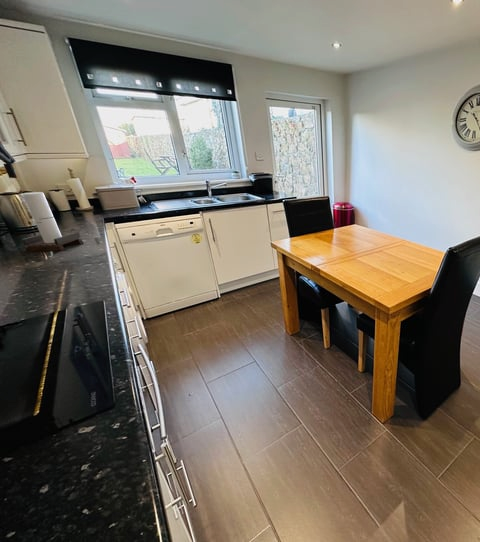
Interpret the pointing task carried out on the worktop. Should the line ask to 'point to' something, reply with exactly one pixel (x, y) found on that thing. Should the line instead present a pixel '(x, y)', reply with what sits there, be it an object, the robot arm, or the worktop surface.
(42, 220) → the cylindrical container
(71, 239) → the rack
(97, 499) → the worktop surface
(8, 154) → the robot arm
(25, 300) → the worktop surface
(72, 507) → the worktop surface
